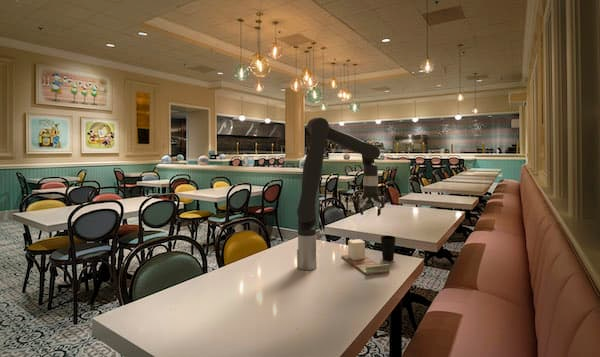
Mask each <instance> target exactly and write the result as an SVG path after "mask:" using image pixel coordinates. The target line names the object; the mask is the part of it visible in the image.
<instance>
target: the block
mask: <svg viewBox="0 0 600 357" xmlns="http://www.w3.org/2000/svg"><path fill="white" fill-rule="evenodd" d="M347 251H348V252H347V255H348V257H349V258H351V259H352V260H357V259H365V256H366V241H364V240H363V239H349V240H348V241H347Z"/></svg>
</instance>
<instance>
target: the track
mask: <svg viewBox="0 0 600 357" xmlns="http://www.w3.org/2000/svg"><path fill="white" fill-rule="evenodd" d="M341 258H342V259H344V260H345V261H346V262H347V263H349V264H350V266H351V265H352V266H353V267H354V268H356V269H357V270H358V271H359V272H361V273H362V274H364V275H365V276H366V277H367V276H374V275H375V276H376V275H382V274H390V264H389V263H385V264H379V263H377V262H376V261H374V260H373V259H371V258H370V257H369V256H366V255H365V259H357V260H352V259H351V258H349V257H348V254H345V255H341Z"/></svg>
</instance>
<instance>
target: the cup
mask: <svg viewBox="0 0 600 357" xmlns="http://www.w3.org/2000/svg"><path fill="white" fill-rule="evenodd" d="M396 239H397V238H396V236H394V235H381V236H380V242H381V254H382V260H383V261H385V262H391V261H394V258H395V257H394V256H395V249H396V248H395V247H396Z"/></svg>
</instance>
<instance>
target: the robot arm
mask: <svg viewBox="0 0 600 357" xmlns="http://www.w3.org/2000/svg"><path fill="white" fill-rule="evenodd" d="M306 129H307V132H308V133H309V135H310V144H309V149H308V151H307V153H306V156H305V158H304V162H303V167H302V174H301V175H302V176H301V193H300V200H299V203H298V206H297V209H296V215H297V250H296V260H297V261H296V263H297V264H296V265H297V269H300V270H303V271H312V270H315V269H317V265H318V263H317V208H316V202H317V201H316V200H317V194H318V190H319V186H320V183H321V178H322V172H323V164H324V158H325V147H326V144H327V140H328V141H330V142H332V143H335V144H337V145H339V146H340V147H342V148H344V149H346V150H348V151H351V152H353V153H356V154H360V155H361V160H362V165H363V180H362V183H363V185H362V186H363V187H362V195H361V194H357V196H356V204H355V205H356V207H358V208H359V214H360V215H361V216H363V215H364V206H365V205H370V204H371V205H375V206H376V208H377V213H376V214H377V215H376V216H377V217H380V216H381V214H382V209H384V208H385V196H384V195H381V196H379V175H378V168H379V167H378V165H377V164H376V163H375V160H377V159H378V158H379V157H380V156H381V149H380V148H379V147H378V146H377V145H374V144H372V143H369V142H366V141H363V140H361V139H360V138H358V137H355V136H353V135H351V134H348V133H346V132H343V131H340V130H338V129H335V128H333V127H332V126H330V123H329V121H328V120H327V119H326V118H324V117H321V116H319V117H315V118H311V119H310V120H309V121H308V122H307V125H306ZM361 199H362V200H363V202H362V203H361ZM378 200H379V201H380V203H379V201H378ZM380 204H381V205H380Z"/></svg>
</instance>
